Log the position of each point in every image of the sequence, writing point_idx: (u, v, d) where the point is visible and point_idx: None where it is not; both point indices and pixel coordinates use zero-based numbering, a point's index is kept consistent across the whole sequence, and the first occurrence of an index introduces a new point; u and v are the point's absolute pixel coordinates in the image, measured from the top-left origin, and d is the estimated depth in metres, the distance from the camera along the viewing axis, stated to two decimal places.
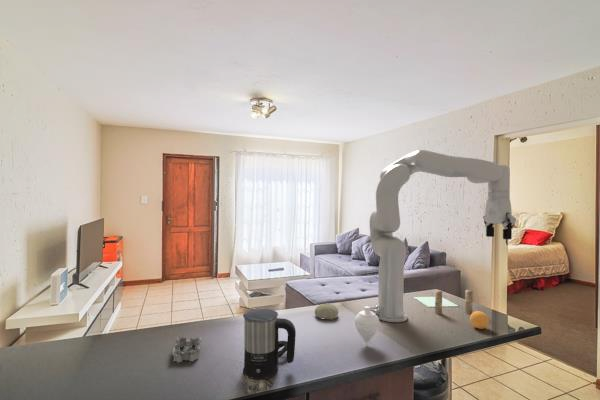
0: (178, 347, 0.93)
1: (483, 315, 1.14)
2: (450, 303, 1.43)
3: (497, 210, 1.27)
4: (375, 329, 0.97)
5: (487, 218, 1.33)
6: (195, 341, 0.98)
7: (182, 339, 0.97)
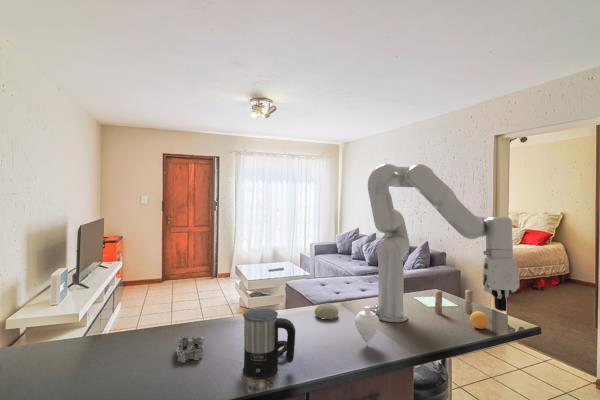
0: (181, 347, 0.94)
1: (483, 315, 1.14)
2: (450, 303, 1.43)
3: (514, 273, 1.04)
4: (375, 329, 0.97)
5: (497, 284, 1.03)
6: (197, 340, 0.99)
7: (184, 339, 0.97)
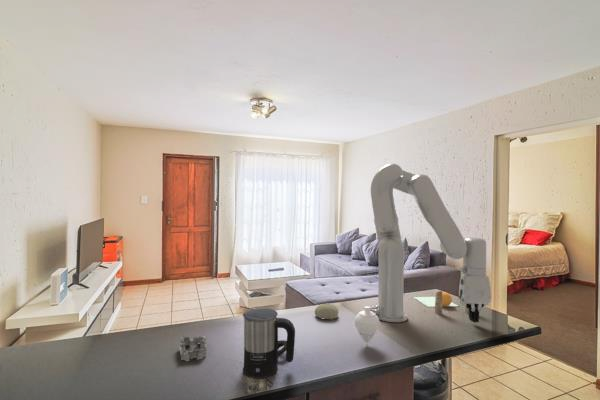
0: (183, 346, 0.94)
1: None
2: None
3: (486, 289, 1.16)
4: (375, 329, 0.97)
5: (471, 299, 1.15)
6: (198, 340, 0.99)
7: (185, 338, 0.98)
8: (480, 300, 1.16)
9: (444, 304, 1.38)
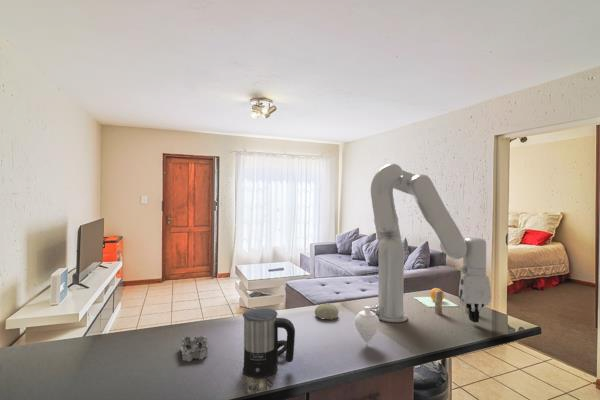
0: (185, 346, 0.94)
1: None
2: (450, 303, 1.43)
3: (486, 289, 1.16)
4: (375, 329, 0.97)
5: (471, 299, 1.15)
6: (199, 340, 0.99)
7: (186, 338, 0.98)
8: (480, 300, 1.16)
9: (435, 288, 1.47)
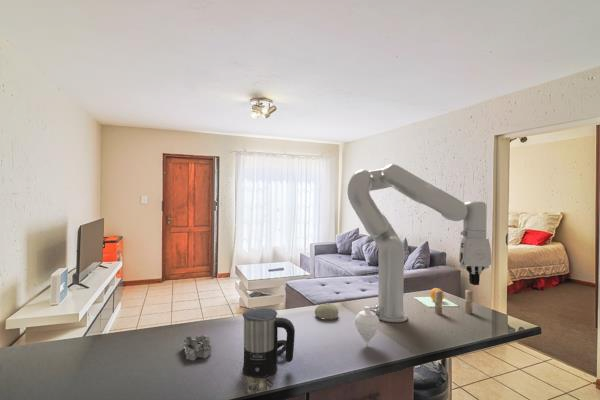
0: (187, 346, 0.94)
1: None
2: (450, 303, 1.43)
3: (487, 251, 1.16)
4: (375, 329, 0.97)
5: (471, 261, 1.16)
6: (200, 339, 1.00)
7: (188, 338, 0.98)
8: (480, 262, 1.16)
9: (435, 288, 1.47)
